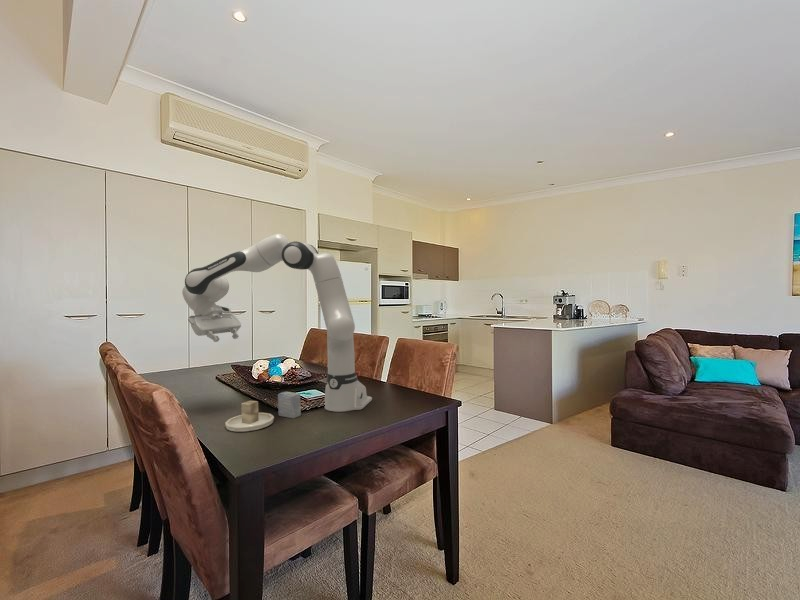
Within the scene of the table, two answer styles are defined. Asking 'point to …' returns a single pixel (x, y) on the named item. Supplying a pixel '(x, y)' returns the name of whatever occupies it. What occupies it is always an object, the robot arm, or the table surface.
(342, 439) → the table surface
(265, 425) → the dish
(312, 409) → the table surface
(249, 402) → the birch block
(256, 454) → the table surface
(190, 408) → the table surface
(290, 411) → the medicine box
